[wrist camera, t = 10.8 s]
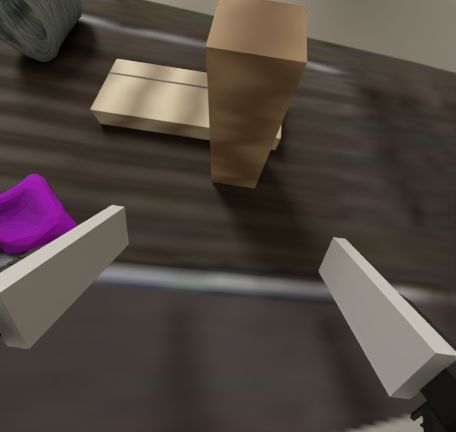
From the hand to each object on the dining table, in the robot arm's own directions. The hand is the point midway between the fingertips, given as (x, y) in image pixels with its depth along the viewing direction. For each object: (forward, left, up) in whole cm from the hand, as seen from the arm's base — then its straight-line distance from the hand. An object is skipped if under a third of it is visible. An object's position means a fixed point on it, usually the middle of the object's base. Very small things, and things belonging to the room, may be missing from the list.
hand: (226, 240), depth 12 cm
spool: (-41, +1, -7) cm, 41 cm away
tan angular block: (-10, +11, -7) cm, 16 cm away
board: (-17, +9, -7) cm, 21 cm away
